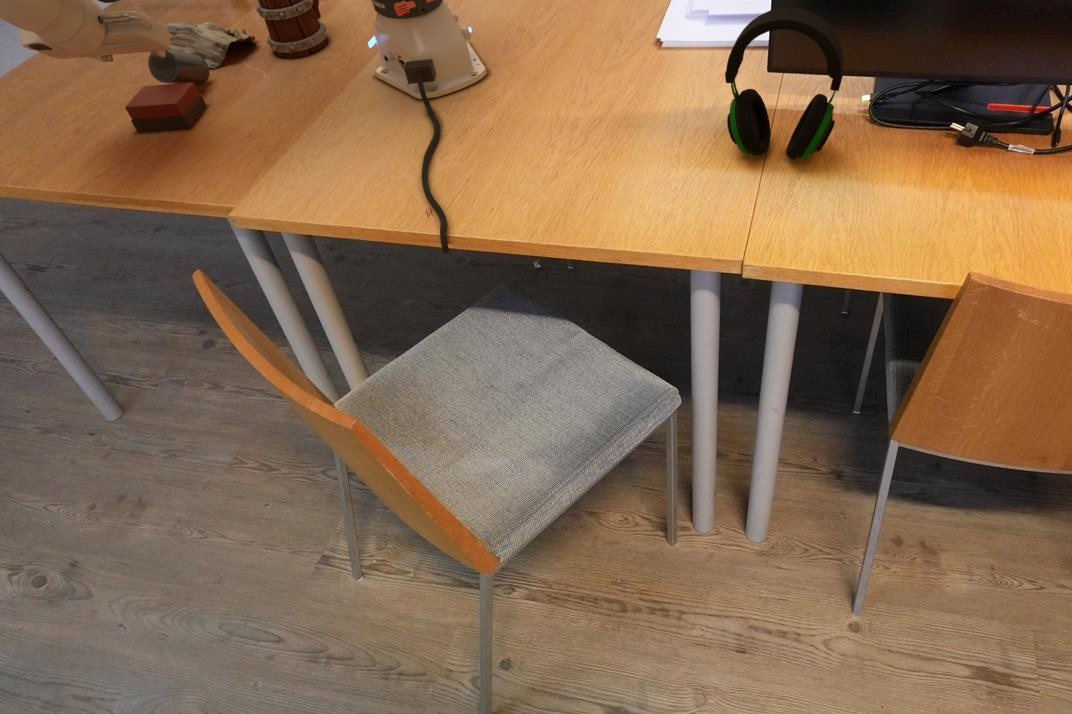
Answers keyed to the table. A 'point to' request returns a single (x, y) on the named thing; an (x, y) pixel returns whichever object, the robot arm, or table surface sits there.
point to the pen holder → (179, 68)
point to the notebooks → (166, 107)
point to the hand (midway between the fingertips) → (135, 55)
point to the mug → (293, 26)
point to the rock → (204, 40)
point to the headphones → (749, 109)
